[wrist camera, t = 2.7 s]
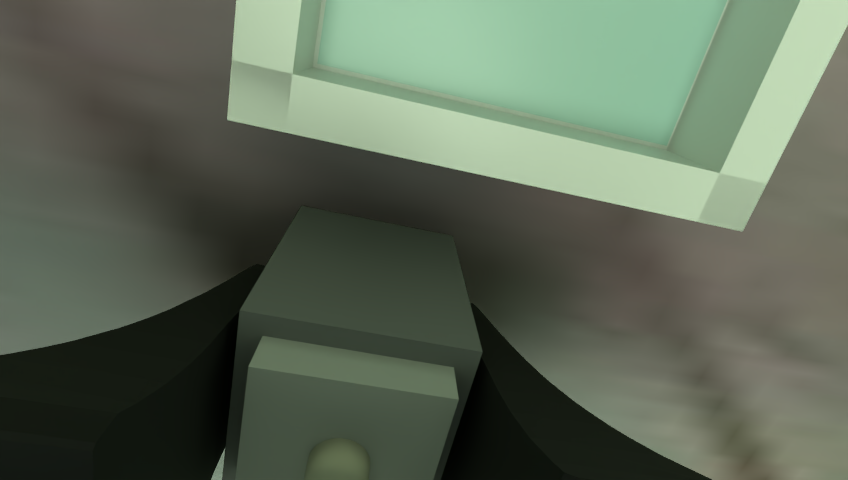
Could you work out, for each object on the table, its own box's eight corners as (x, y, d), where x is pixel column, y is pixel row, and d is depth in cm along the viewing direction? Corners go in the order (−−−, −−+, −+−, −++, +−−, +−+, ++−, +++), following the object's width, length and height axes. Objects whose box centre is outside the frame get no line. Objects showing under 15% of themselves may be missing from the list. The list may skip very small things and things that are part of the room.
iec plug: (419, 358, 14) (432, 591, 8) (282, 335, 14) (191, 566, 8) (452, 235, 13) (497, 411, 7) (301, 205, 12) (207, 365, 6)
